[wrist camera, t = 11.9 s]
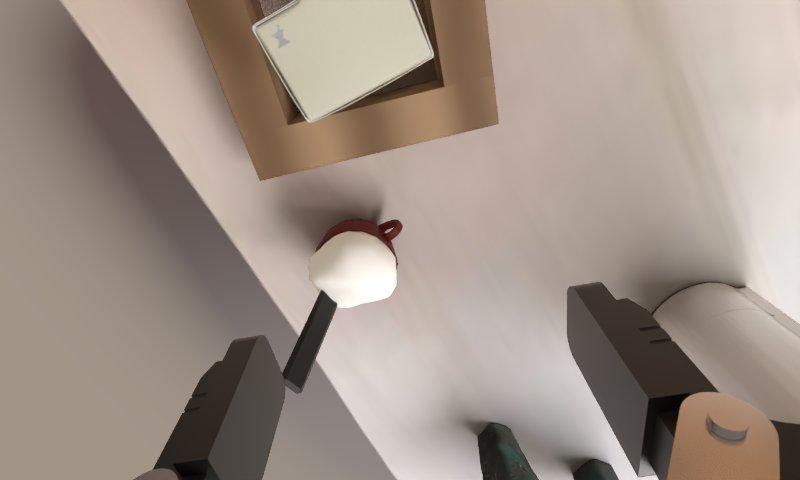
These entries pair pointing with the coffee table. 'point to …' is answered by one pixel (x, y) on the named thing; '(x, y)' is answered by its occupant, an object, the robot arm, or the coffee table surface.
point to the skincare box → (342, 49)
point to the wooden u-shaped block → (362, 120)
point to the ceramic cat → (523, 459)
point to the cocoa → (343, 284)
